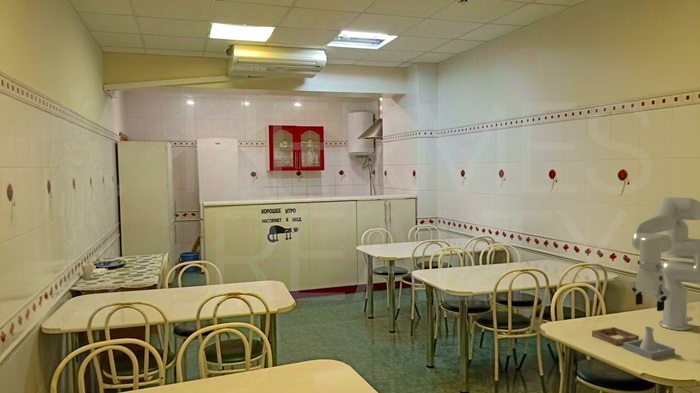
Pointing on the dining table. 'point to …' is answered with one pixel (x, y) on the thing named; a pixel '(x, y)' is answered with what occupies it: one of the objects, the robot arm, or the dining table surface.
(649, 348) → the flask
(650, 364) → the dining table surface
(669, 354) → the bin grey
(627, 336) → the bin walnut
